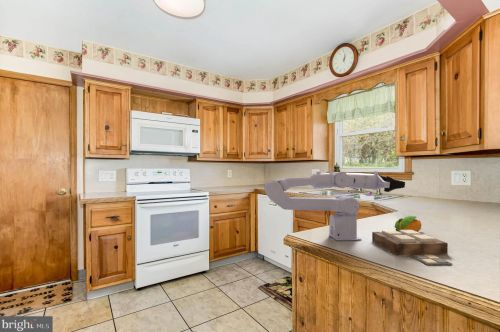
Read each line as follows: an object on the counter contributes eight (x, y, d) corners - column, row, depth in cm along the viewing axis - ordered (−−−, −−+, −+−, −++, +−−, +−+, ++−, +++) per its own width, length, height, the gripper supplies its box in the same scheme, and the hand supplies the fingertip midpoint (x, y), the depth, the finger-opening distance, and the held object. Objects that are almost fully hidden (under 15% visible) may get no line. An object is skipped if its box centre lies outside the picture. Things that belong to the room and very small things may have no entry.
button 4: (421, 245, 78) (421, 238, 78) (411, 240, 83) (411, 234, 83) (435, 244, 79) (435, 238, 79) (424, 240, 83) (424, 234, 83)
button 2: (401, 245, 78) (401, 238, 78) (392, 241, 82) (392, 235, 82) (415, 245, 78) (415, 238, 78) (406, 241, 83) (405, 234, 83)
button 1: (389, 239, 84) (389, 233, 84) (381, 235, 89) (381, 230, 89) (402, 239, 85) (402, 233, 85) (393, 235, 89) (393, 230, 89)
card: (427, 265, 69) (427, 263, 69) (410, 256, 76) (410, 254, 76) (452, 265, 69) (452, 262, 69) (432, 256, 76) (432, 254, 76)
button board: (396, 255, 76) (396, 243, 76) (372, 241, 90) (372, 232, 90) (447, 254, 77) (447, 243, 77) (415, 241, 91) (415, 231, 91)
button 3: (407, 239, 85) (407, 233, 85) (399, 235, 89) (399, 230, 89) (420, 239, 85) (420, 233, 85) (411, 235, 89) (411, 229, 89)
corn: (390, 217, 96) (408, 211, 109) (389, 237, 96) (406, 228, 110) (413, 221, 90) (428, 214, 104) (411, 242, 91) (427, 233, 104)
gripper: (372, 172, 88) (411, 175, 88) (355, 168, 103) (388, 170, 103) (370, 192, 89) (409, 194, 89) (353, 185, 103) (387, 187, 103)
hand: (398, 182), depth 96 cm, fingers open, 7 cm apart
